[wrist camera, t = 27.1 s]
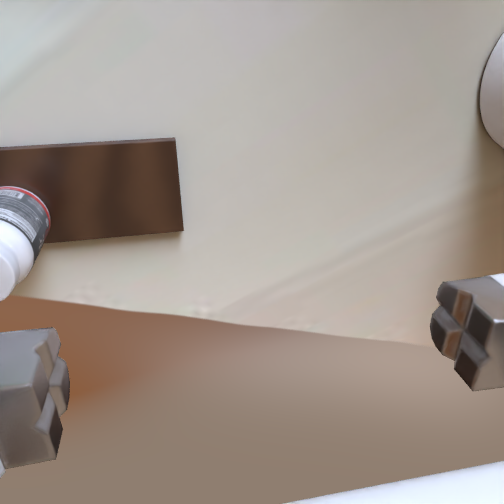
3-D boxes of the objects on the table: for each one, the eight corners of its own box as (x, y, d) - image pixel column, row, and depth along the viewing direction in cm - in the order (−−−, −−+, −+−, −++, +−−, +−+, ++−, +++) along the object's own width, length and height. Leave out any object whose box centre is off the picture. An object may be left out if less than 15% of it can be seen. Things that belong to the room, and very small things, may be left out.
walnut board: (174, 137, 38) (175, 140, 37) (183, 226, 42) (183, 231, 41) (-85, 151, 35) (-91, 155, 34) (-49, 246, 39) (-53, 252, 38)
